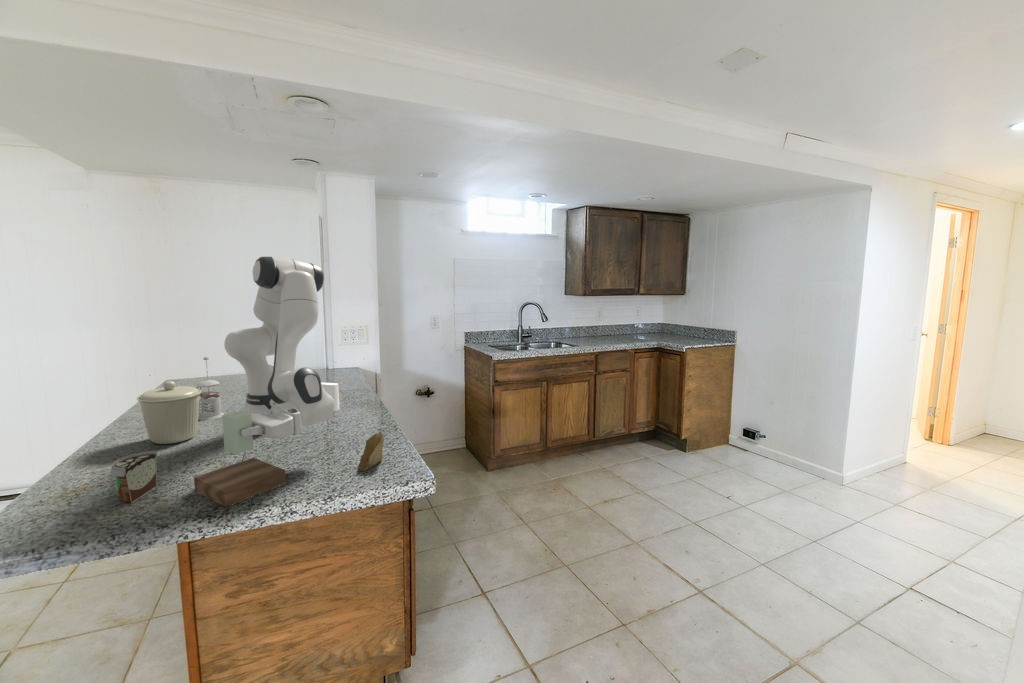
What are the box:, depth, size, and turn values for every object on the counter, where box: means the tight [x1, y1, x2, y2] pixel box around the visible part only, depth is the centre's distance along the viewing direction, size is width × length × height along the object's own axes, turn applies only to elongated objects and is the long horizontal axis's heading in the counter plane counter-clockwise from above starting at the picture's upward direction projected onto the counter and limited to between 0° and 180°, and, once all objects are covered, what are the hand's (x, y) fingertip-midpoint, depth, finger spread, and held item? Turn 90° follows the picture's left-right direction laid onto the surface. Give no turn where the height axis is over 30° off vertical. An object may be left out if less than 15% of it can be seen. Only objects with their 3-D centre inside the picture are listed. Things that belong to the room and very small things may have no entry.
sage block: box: [221, 410, 255, 456], centre depth 122 cm, size 5×5×10 cm
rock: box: [357, 432, 385, 472], centre depth 141 cm, size 11×9×10 cm
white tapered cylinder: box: [321, 382, 340, 412], centre depth 197 cm, size 9×9×12 cm
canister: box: [136, 380, 203, 445], centre depth 158 cm, size 18×18×21 cm
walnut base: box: [193, 457, 287, 508], centre depth 124 cm, size 16×16×4 cm
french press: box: [195, 356, 225, 421], centre depth 185 cm, size 10×12×25 cm
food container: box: [110, 450, 159, 505], centre depth 118 cm, size 12×6×10 cm, turn 5°
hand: (234, 431), depth 121 cm, fingers closed on sage block, 5 cm apart
